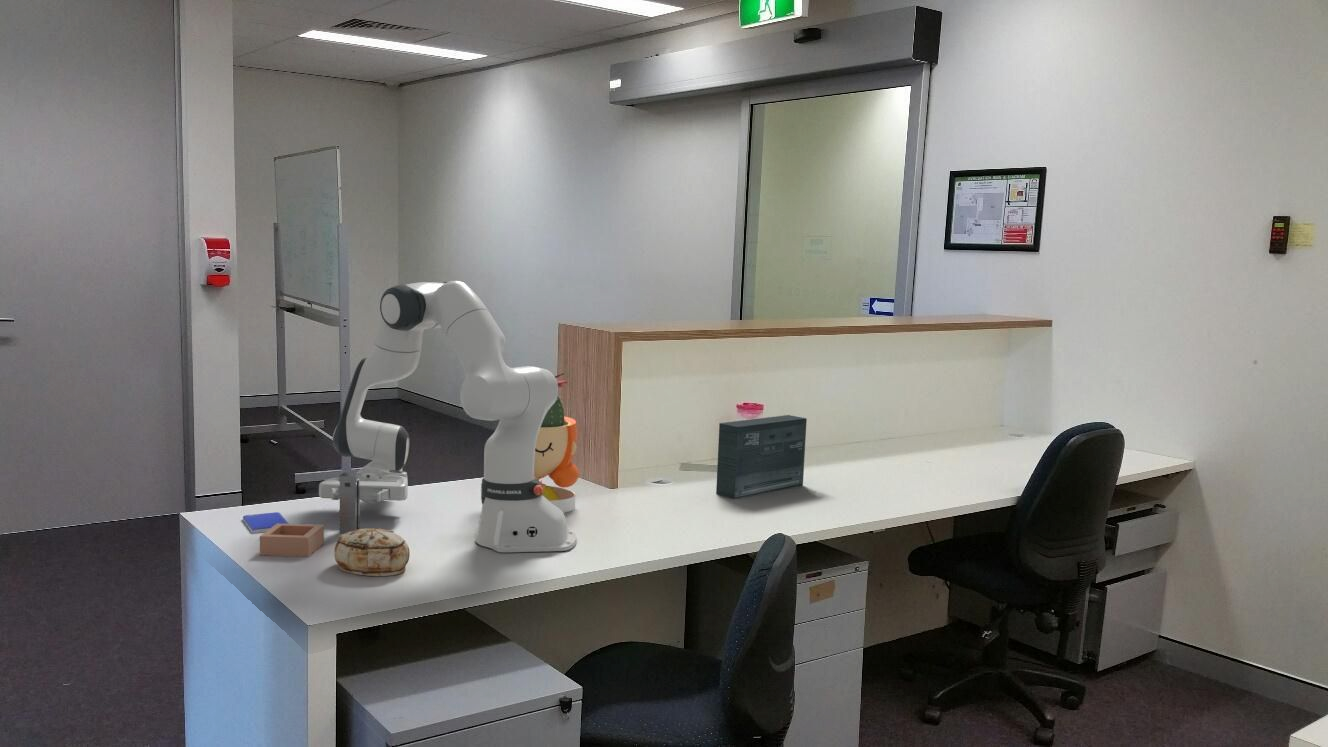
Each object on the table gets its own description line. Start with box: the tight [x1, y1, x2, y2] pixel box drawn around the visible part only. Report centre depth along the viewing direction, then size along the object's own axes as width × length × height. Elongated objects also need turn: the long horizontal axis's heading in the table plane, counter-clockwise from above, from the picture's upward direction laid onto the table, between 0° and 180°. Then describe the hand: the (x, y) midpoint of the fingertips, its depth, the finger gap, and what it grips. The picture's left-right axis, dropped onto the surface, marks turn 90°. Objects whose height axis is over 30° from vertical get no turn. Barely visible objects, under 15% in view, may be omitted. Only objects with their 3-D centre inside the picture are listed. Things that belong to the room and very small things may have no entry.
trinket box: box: [333, 527, 410, 577], centre depth 200 cm, size 13×15×8 cm
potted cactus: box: [534, 372, 580, 514], centre depth 256 cm, size 22×22×35 cm
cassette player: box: [715, 414, 808, 500], centre depth 282 cm, size 29×7×20 cm, turn 133°
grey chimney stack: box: [338, 472, 361, 535], centre depth 224 cm, size 4×4×13 cm
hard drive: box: [242, 511, 290, 534], centre depth 229 cm, size 2×8×12 cm
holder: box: [259, 523, 325, 557], centre depth 211 cm, size 10×10×4 cm
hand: (355, 497), depth 228 cm, fingers open, 8 cm apart
